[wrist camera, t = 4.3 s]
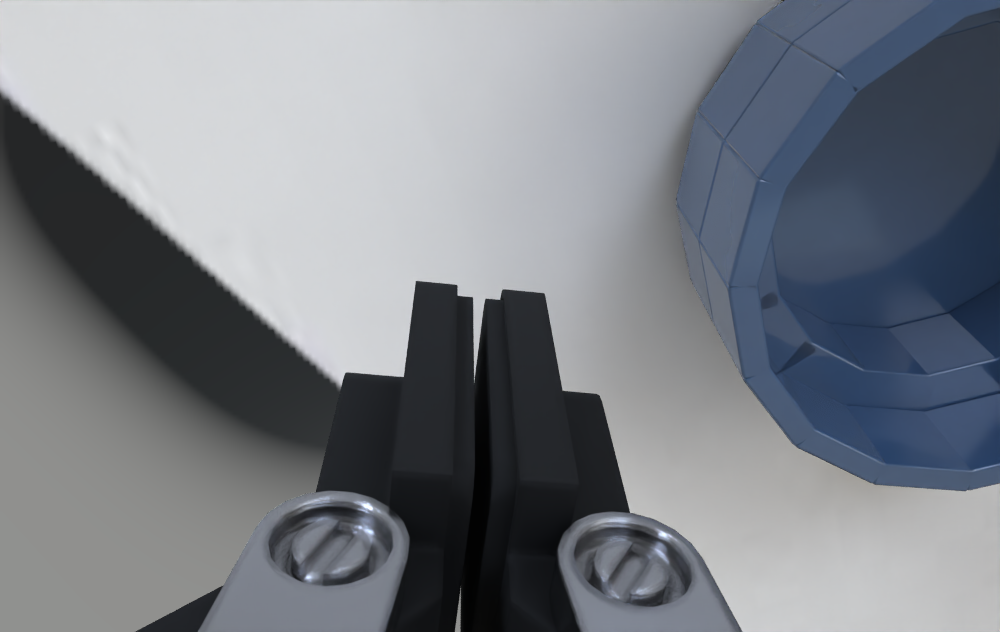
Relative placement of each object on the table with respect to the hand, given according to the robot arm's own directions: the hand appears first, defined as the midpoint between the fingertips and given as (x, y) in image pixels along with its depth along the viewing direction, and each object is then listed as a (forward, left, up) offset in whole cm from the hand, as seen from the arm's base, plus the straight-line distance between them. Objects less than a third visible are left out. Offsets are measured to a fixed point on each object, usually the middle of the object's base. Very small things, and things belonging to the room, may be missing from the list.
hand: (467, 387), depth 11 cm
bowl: (+11, 0, -10) cm, 15 cm away
